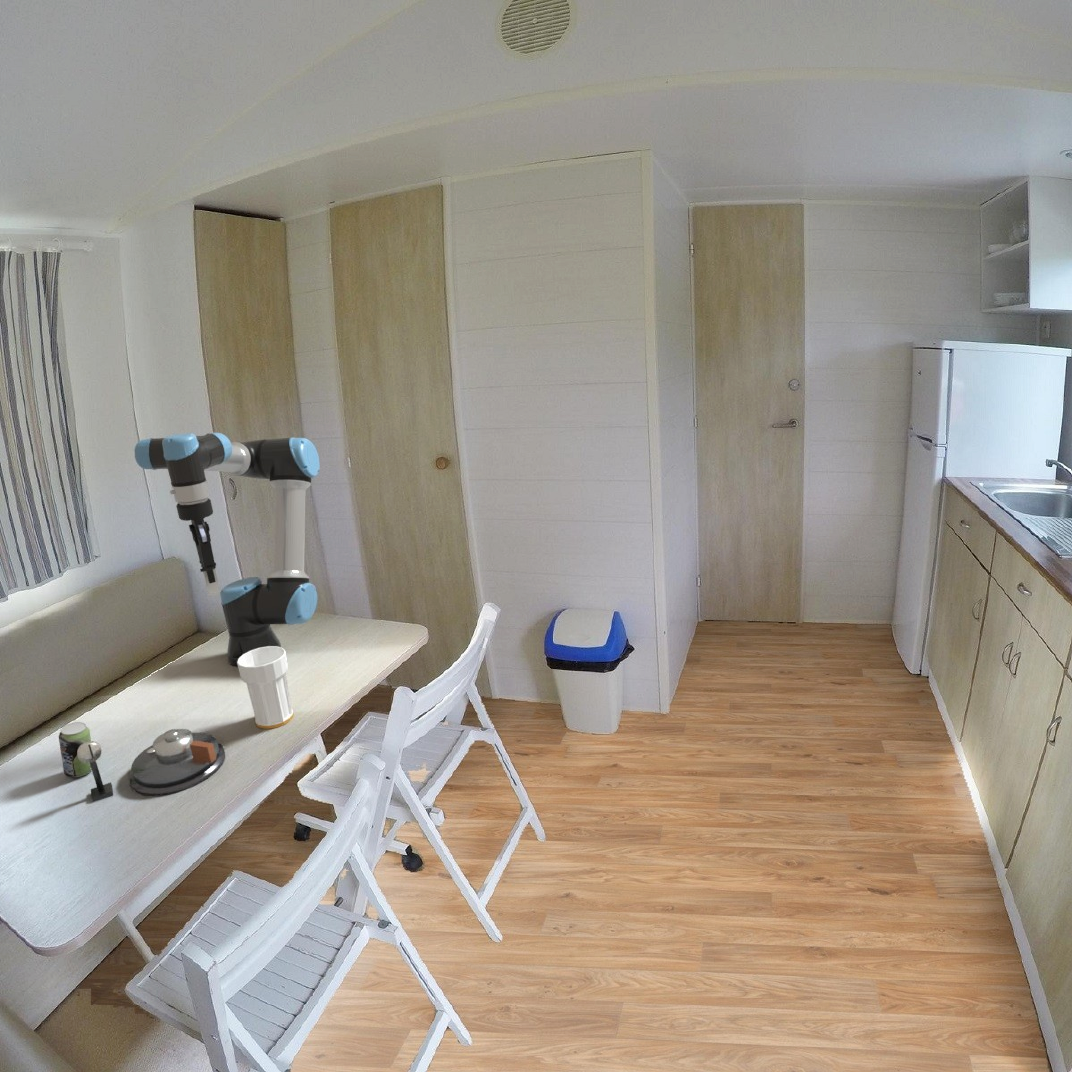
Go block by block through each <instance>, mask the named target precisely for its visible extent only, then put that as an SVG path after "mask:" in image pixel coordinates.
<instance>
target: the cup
mask: <svg viewBox="0 0 1072 1072" xmlns="http://www.w3.org/2000/svg"><path fill="white" fill-rule="evenodd" d="M237 665H238V666H237V668H238V671H239V675H240V676H239V677H240V679H241V680H242V682H243V683H245V684H246V686H247V691H248V694H249V698H250V702H251V706H252V710H253V714H254V717H255V719H254V720H255V721H254V722H255V725H256V727H257V728H260V729H265V730H266V729H267V730H271V729H276V728H280V727H282V726H285V725H286V724H287V723H289V722H290V721H291V720H292V719H293V718H294V710H293V708H292V703H291V698H290V692H289V685H288V679H287V673H288V669H289V664H288V659H287V652H286V649H284V648H283V647H282V646H281V647H277V646H267V647H261V648H257V649H254V650H251V651H249V652H247V653H245V654H243V655H242V656H241V657H240V658H238V661H237Z"/></svg>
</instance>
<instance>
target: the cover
mask: <svg viewBox="0 0 1072 1072" xmlns="http://www.w3.org/2000/svg"><path fill="white" fill-rule="evenodd" d="M192 733H193V732H192V731H191V730H190V729H188V728H172V729H169V730H166V731H165V732H164V733H162V734H160V735H159V736H157V737H156V738H155V739H154V740H153V743H152V745H153V747H154V751H155V754H156V758H157V761H158V762H159V763H160V764H174V763H178V762H181V761H183V760H185V759H187V758H188V757H190V756H191V755H192V752H191V748H190V744H191V743H192V742H194V741H193V737H192Z"/></svg>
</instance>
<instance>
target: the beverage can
mask: <svg viewBox="0 0 1072 1072" xmlns="http://www.w3.org/2000/svg"><path fill="white" fill-rule="evenodd" d="M90 731H91V730H90V728H89V727H88V726H87V724H86V723H84V722H82V721H81V722H80V721H79V722H78V721H77V722H76V721H75V722H70V723H67V724H66V725H63V726H62V727H61V729H60V732H59V734H58V741H59V749H60V755H61V761H62V762H61V763H62V768H63V773H64V775H65V776H68V777H70V778H81V777H83V776H86V775H87V774H89V773H90V772H92V769H91V766H90V763H83V762H81V761H80V760H79V759H78V756H77V751H78V748H79V747H80V746H81V745H82V744H83V743H85V742H89V741H92V739H91V738H92V737H91V732H90Z"/></svg>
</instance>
